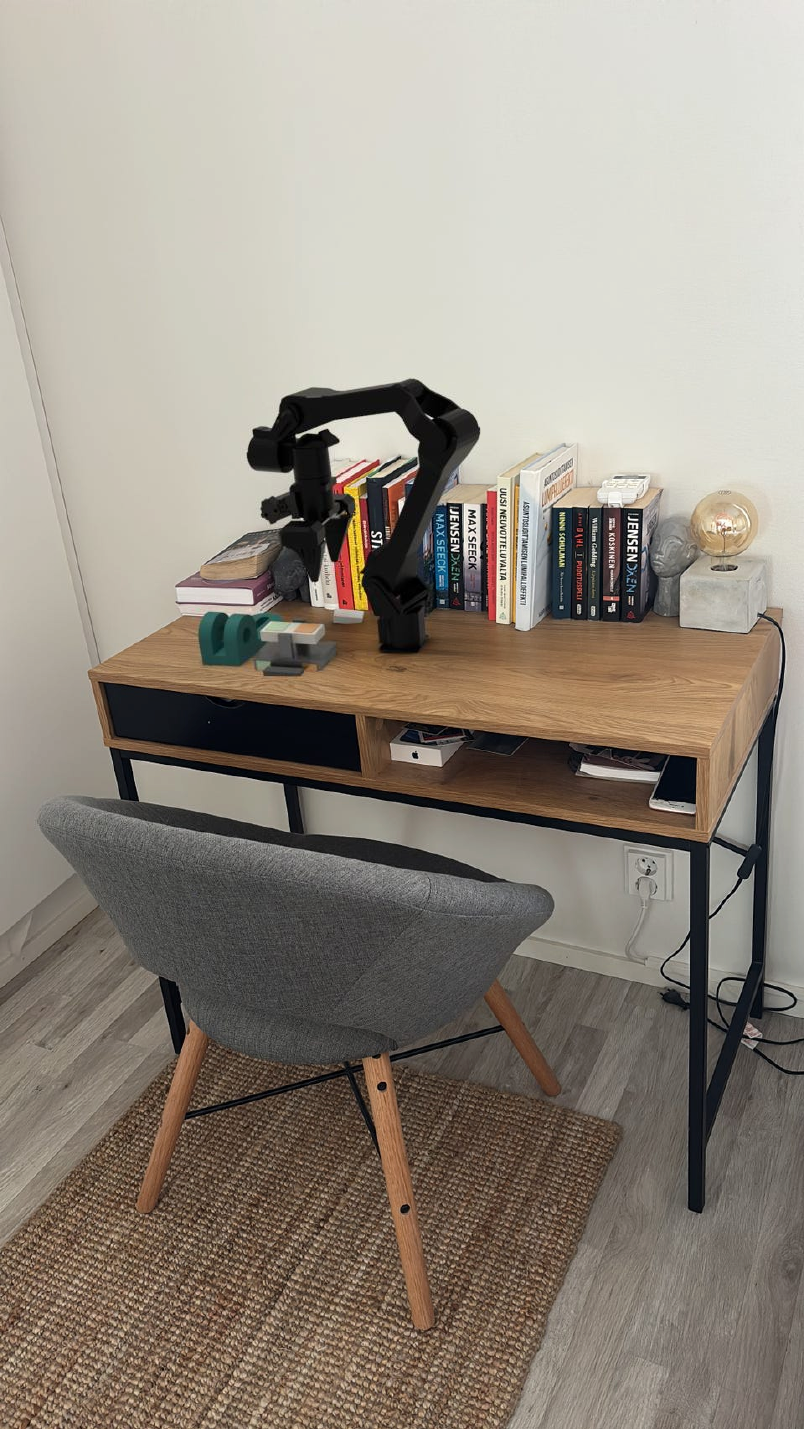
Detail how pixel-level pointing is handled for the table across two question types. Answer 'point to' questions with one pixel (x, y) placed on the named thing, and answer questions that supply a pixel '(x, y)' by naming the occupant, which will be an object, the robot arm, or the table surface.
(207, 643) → the bracket
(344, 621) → the eraser
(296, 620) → the grey stand
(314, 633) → the rocker switch
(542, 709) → the table surface
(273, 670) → the dark grey rectangular bar
